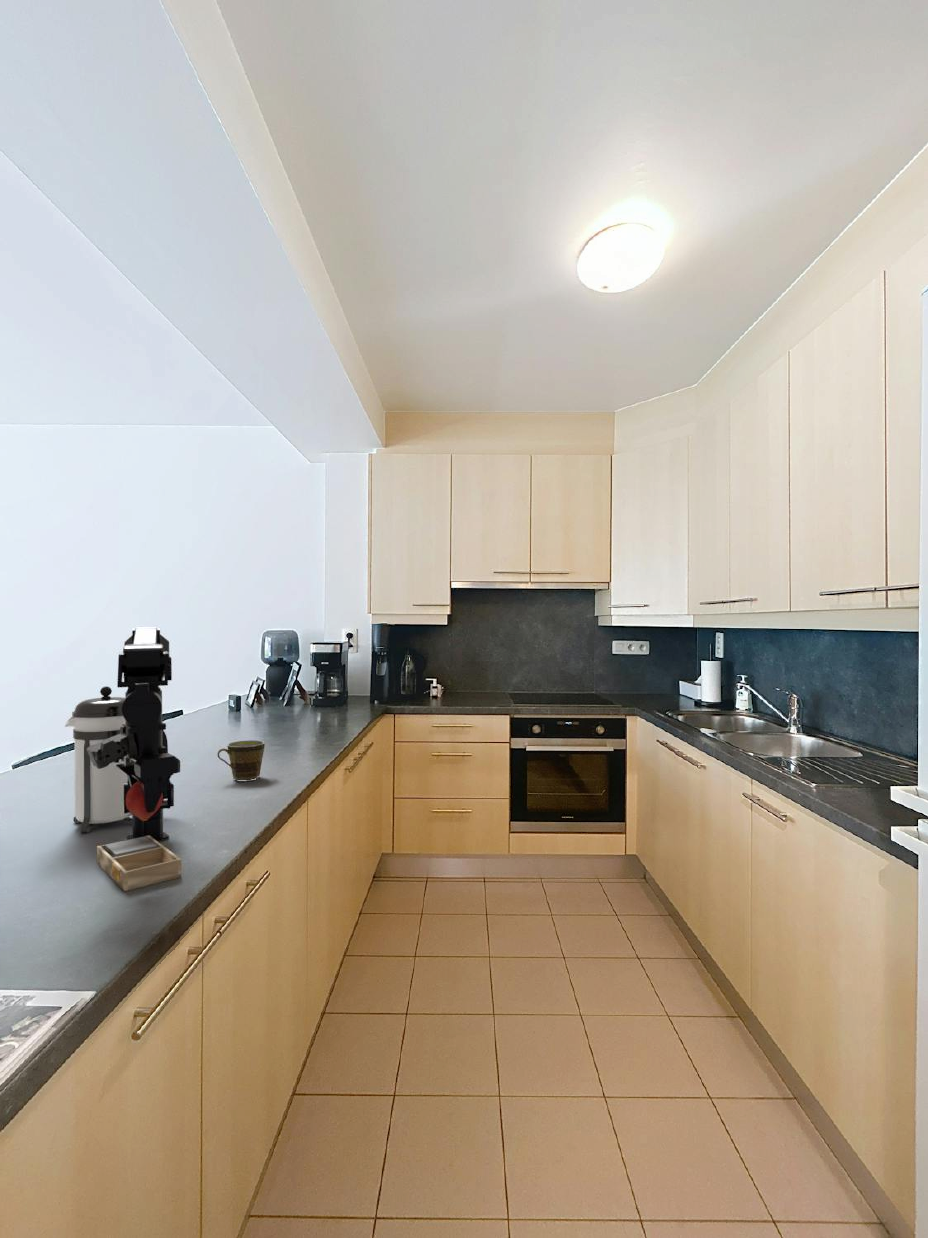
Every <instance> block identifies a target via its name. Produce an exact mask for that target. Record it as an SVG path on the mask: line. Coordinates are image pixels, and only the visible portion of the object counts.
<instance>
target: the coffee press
mask: <svg viewBox="0 0 928 1238" xmlns="http://www.w3.org/2000/svg"><path fill="white" fill-rule="evenodd" d="M112 692H113V690H112V688H111V687H110V686H103V687H101V689H100V691H99V693H100V695H101V697H96V698H90V699H85V700H82V701H81V702H78V704H77V705H76V706H75V708H74V711H72V713H71V716H70V717H69V719H68V720H67V721H66V723H65V724H64V728H66V727H67V728H68V727H73V730H72V739H74V816H73V820H72V821H73V823H75V824H79V823H81V826H80V828H79V832H80V833H81V834H89V833H90V832H91V831H92V829H93V827H94V826H95V825H98V824H107V823H113V822H117V821H120V820H121V821H122V820H125V821H127V822H128V823H129V824H130V825H131V826H132V813H131V812H130V813H125V814H124V782H128V777H127V775H126V773H124V772H123V771H122V770H120V769H119V768H118V767H116V765H118V764H121V759H120V760H119V762H118V763H114V762H112V763H110V764H109V765H108V766H106V767H104V768H101V769H98V768H97V767H96V766H94V765H93V763H92V761H91V759H90V756H89V754H88V752H87V748H88V747H90V746H92V745H94V744H97V743H99V742H101V741H103V740H106V739H108V738H110V737H113V736H116V735H118V734H120V727H121V726H122V724H125V719H124V717H123V714H122V705H123V703H124V700H125V697H120V696H115V697H114V696H110V695H112ZM168 745H169V743H168V737H167V734H166V731H164V730H162V746H164V747H166V753H169V748H168V747H169V746H168ZM164 754H165V753H164Z"/></svg>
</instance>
